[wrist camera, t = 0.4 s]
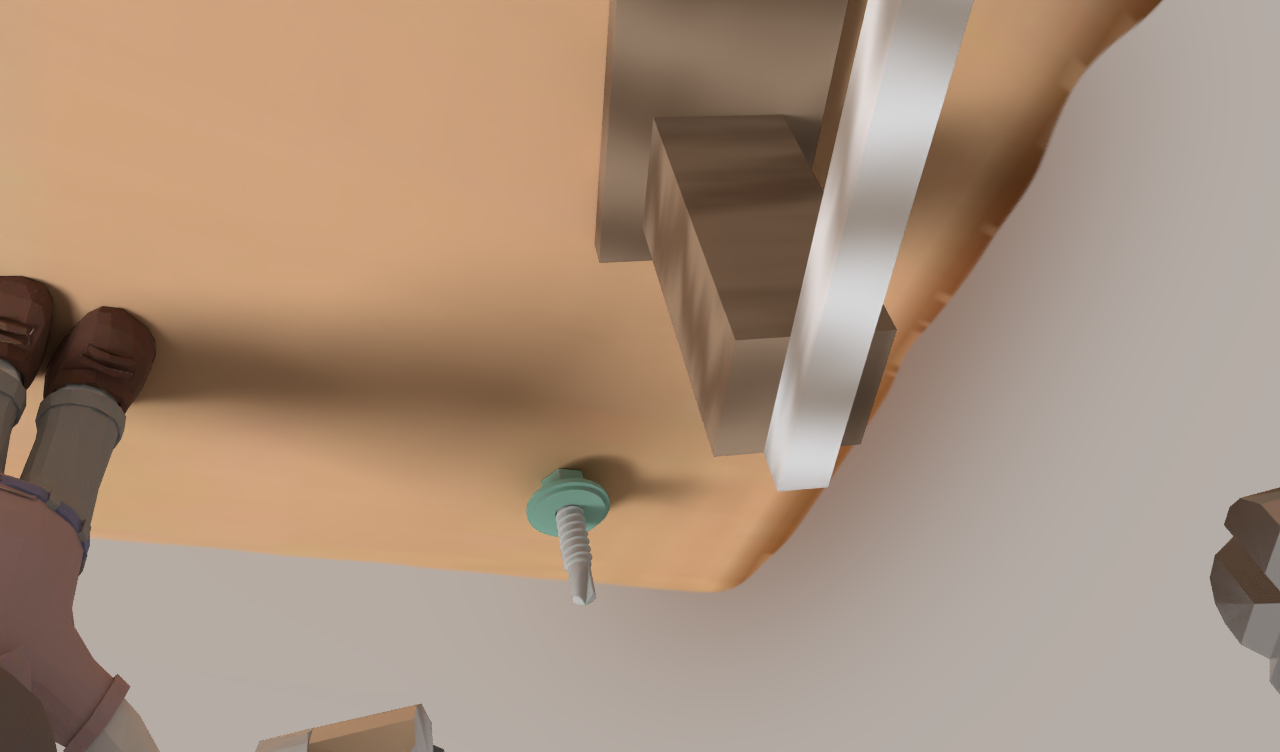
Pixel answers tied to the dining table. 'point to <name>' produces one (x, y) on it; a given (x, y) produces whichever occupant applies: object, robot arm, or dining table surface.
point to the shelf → (771, 202)
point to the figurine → (60, 521)
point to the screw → (570, 523)
